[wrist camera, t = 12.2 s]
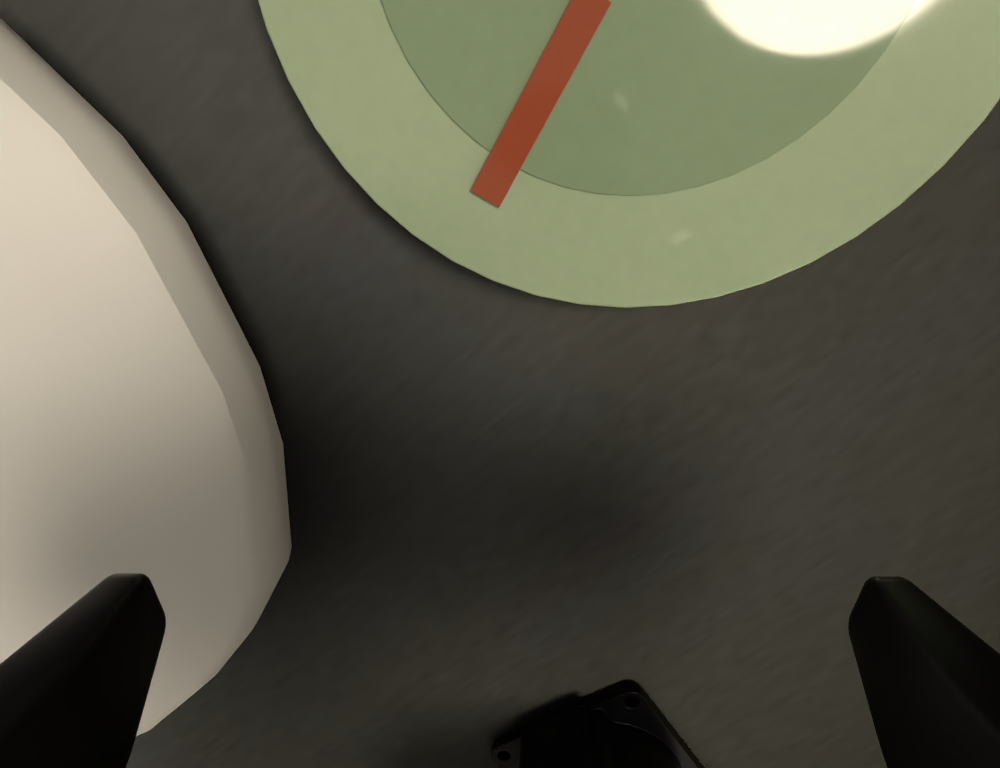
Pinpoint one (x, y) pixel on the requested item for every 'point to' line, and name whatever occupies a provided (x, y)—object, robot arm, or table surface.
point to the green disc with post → (639, 128)
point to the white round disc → (122, 396)
